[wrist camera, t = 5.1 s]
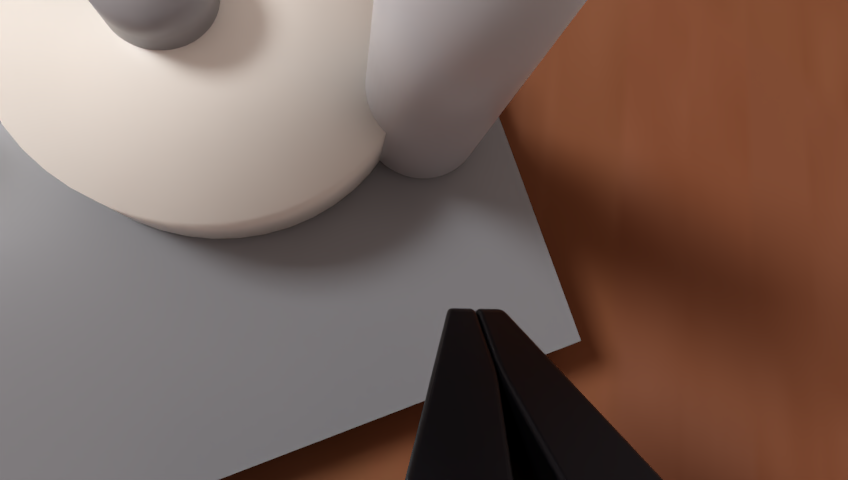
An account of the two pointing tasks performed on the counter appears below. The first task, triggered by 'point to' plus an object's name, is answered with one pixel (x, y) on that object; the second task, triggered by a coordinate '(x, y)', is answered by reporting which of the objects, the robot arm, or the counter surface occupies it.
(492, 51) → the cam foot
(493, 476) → the robot arm
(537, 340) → the stand
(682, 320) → the counter surface
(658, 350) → the counter surface
